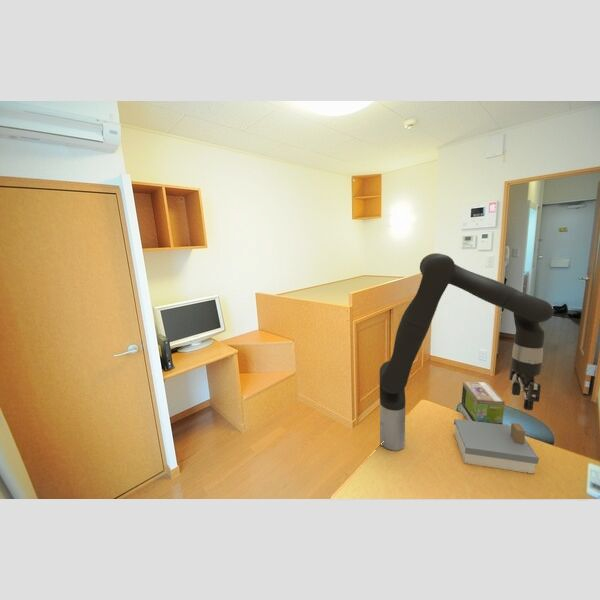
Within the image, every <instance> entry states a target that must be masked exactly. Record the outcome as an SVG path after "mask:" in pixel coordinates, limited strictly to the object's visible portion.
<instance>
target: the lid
mask: <svg viewBox="0 0 600 600" xmlns="http://www.w3.org/2000/svg"><path fill="white" fill-rule="evenodd" d="M455 423H456V426H457V428H458V431H459V433H460V436H461V439H462V441H463V444H464V446H465V454H472V455H479V456H486V457H493V458H500V459H506V460H513V461H520V462H527V463H534V464H535V465H539V459H540V457H539V456H538V455H537V453H536V452H535V451H534V448H533V447H532V446H531V445H530V443H529V442H528V441H527V439H526V429H524V427H523V426H522V425H521V423H518V422H517V423H515V422H511V424H504V423H502V424H494V423H486V422H477V421H468V420H467V419H459V418H454V419H453V425H455Z"/></svg>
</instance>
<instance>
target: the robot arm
mask: <svg viewBox="0 0 600 600" xmlns="http://www.w3.org/2000/svg"><path fill="white" fill-rule="evenodd" d="M419 271H420V274H421V275H422V277H421V280H420V283H419V286H418V288H417V292H416V294H415V295H414V297H413V299H412V300H411V302H410V303H409V304H408V305H407V307H406V309H405V310H404V312H403V314H402V316H401V319H400V321H399V324H398V327H397V331H396V333H395V334H396V335H395V338H394V339H395V340H394V344H393V349H392V355H391V357H390V359H389V360H387V361H385V362H383V363H382V364H381V365H380V368H379V373H378V374H379V445H380V444H381V443H382V442H383V441H384V442H383V443H382V445H381V446H380V447H383V448H385V449H387V450H390V451H394V452H395V451H398V452H399V451H400V450H403V449H404V448H405V446H406V445H405V443H406V389H405V388H406V386H407V384H408V381H409V377H410V373H411V370H412V367H413V364H414V361H415V359H416V357H417V355H418V353H419V351H420V350H421V349H420V348H421V346H422V345H423V342H424V340H425V339H426V337H427V334H428V332H429V329H430V327H431V324H432V321H433V319H434V316H435V313H436V312H437V308H438V306H439V303H440V301H441V298H442V297H443V295H444V293H445V291H446V289H447V288H448V286H449V285H451V286H454V287H456V288H459V289H461V290H463V291H465V292H467V293H469V294H470V295H472V296H475V297H476V298H477V299H478V298H479V299H480V300H482V301H485V302H487V303H489V304H491V305H493V306H496V307H498V308H500V309H501V308H502V309H504V310H507V311H510V312H512V313H513V319H514V321H513V322H514V326H515V334H514V343H513V347H512V352H511V353H512V354H511V361H510V363H511V364H510V369H509V371H510V372H509V378H508V379H509V381H511V385H512V386H511V394H512V396H520V395H521V392H522V393H523V395H524V400H523V409H524V410H526V411H533V409H534V402H535V403H539V402H540V396H541V395H540V394H541V383H536V381H535V377H537V376H538V375H541V373H542V365H543V357H544V342H545V331H544V329H543V328H542V327H541V326H540V323H545V322H546V321H549V320H550V319H551V318H552V317H553V315H554V308H553V306H552V305H551V304H550V303H549V302H548V301H546V300H545V299H541V298H539V297H536V296H533V295H531V294H528V293H525V292H522V291H520V290H518V289H516V288H514V287H512V286H511V285H507V284H505V283H503V282H501V281H498V280H495V279H492V278H490V277H487V276H484V275H481V274H478V273H475V272H472V271H470V270H468V269H466V268H464V267H461V266H459V265H458V264H455V262H454V260H453V258H451V257H450V256H449V255H446V254H443V253H440V252H439V253H429V254H428V255H426V256H425V257H423V258H422V259H421V261H420V263H419Z"/></svg>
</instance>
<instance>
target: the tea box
mask: <svg viewBox="0 0 600 600" xmlns="http://www.w3.org/2000/svg"><path fill="white" fill-rule="evenodd" d="M461 391H462V393H461V405H460V410H461V413H462V414H463V415H464V417H465V418H466V419H465V420H468V421H477V422H486V423H494V424H504V422H503V419H504V411H505V405H506V403H505V402H506V401H505V400H504V399H503V398H502V397H501V396H500V394H499V393H497V391H496V390H495V389H494V388H493V386H491V385H490V384H489V383H488V382H485V381H483V382H482V381H465V380H464V381H462V390H461Z"/></svg>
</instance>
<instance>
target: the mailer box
mask: <svg viewBox="0 0 600 600" xmlns="http://www.w3.org/2000/svg"><path fill="white" fill-rule="evenodd" d="M454 437H455V439H456V443H457V445H458V448H459V451H460V454H461V455H462V459H463V461H464V462H463V463H465V464H468V465H469V464H470V465H474V466H481V467H489V468H495V469H500V470H506V471H507V470H509V471H515V472H521V473H526V474H532V473H534V474H535V468H536V464H534V463H527V462H520V461H513V460H506V459H500V458H493V457H486V456H479V455H472V454H465V446H464V444H463V441H462V439H461V436H460V433H459V431H458V428H457V426H456V423H455V426H454ZM527 472H528V473H527Z"/></svg>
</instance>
